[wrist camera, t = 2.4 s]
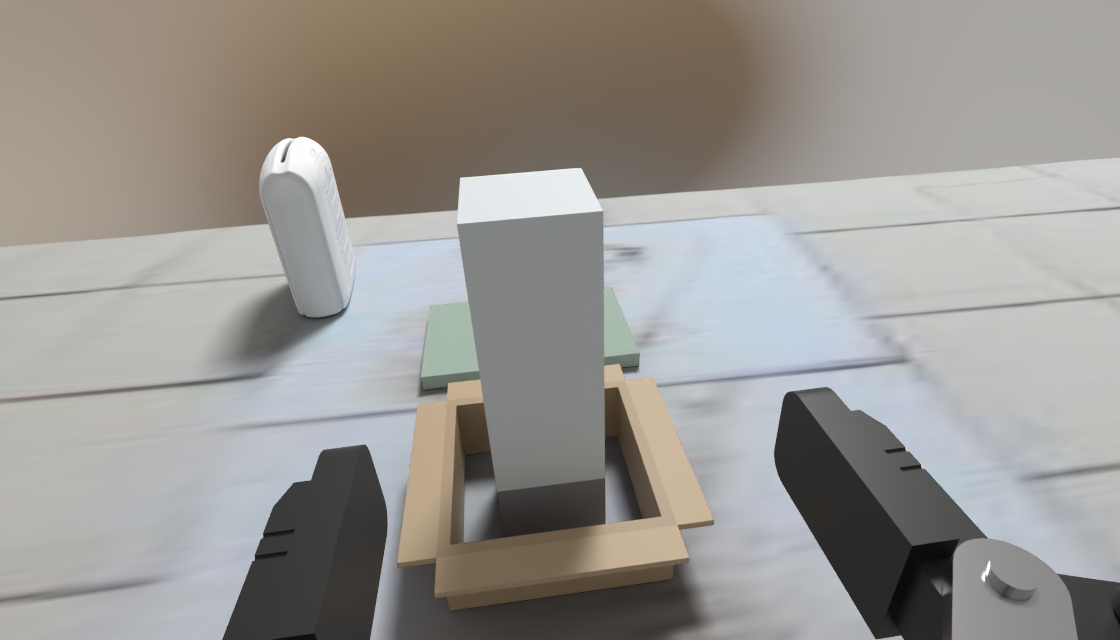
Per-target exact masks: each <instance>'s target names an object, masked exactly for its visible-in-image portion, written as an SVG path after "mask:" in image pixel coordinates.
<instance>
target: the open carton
mask: <svg viewBox="0 0 1120 640" xmlns="http://www.w3.org/2000/svg"><path fill="white" fill-rule="evenodd" d="M604 396H605V438H607V437H615V436H618V439H619V442H620V446H621V449H622V452H623V455H624V459H625V462H626V465H627V469H628V472H629V475H630V479H631V482H632V485H633V489H634V492H635V495H636V499H637V502H638V505H639V509H640V512H641V515H642V519H640V520H632V521H625V522H617V523H610V524H602V525H595V526H587V527H580V528H572V529H565V530H558V531H550V532H543V533H535V534H528V535H520V536H513V537H505V538H498V539H490V540H483V541H476V542H468V543H463V537H464V490H465V455H468V454H476V453H484V452H491V448H490V441H489V435H488V428H487V421H486V415H485V408H484V401H483V395H482V388H481V381H480V380H471V381H462V382H453V383H448V392H447V401H439V402H430V403H421V404H418V407H417V415H416V423H415V430H414V438H413V445H412V453H411V461H410V468H409V476H408V483H407V491H406V499H405V506H404V514H403V521H402V529H401V536H400V544H399V552H398V559H397V565H398V568H402V567H409V566H416V565H424V564H431V563H436V574H435V589H434V595H435V598H442V597H447V601H448V605H449V609H450V611H453V610H460V609H467V608H474V607H481V606H488V605H494V604H501V603H508V602H515V601H522V600H529V599H536V598H543V597H550V596H557V595H564V594H571V593H578V592H585V591H592V590H599V589H606V588H613V587H620V586H627V585H634V584H641V583H648V582H655V581H662V580H669V579H673V569H674V565H676V564H683V563H689V556H688V553H687V550H686V547H685V545H684V542H683V539H682V536H681V533H680V531H679V530H680V529H688V528H695V527H702V526H710V525H713V524H714V519H713V516H712V514H711V512H710V509H709V507H708V505H707V502H706V500H705V498H704V495H703V493H702V491H701V488H700V486H699V484H698V481H697V479H696V477H695V474H694V472H693V470H692V467H691V465H690V463H689V460H688V458H687V456H686V453H685V451H684V449H683V446H682V444H681V442H680V439H679V437H678V435H677V432H676V430H675V428H674V426H673V423H672V421H671V419H670V416H669V414H668V412H667V409H666V407H665V405H664V402H663V400H662V398H661V395H660V393H659V391H658V388H657V386H656V384H655V381H654V379H653V377H649V378H640V379H631V380H625V378H624V375H623V372H622V370H621V367H620V364H614V365H605V366H604Z"/></svg>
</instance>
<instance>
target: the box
mask: <svg viewBox="0 0 1120 640" xmlns="http://www.w3.org/2000/svg"><path fill="white" fill-rule="evenodd" d="M457 227H458V234H459V240H460V247H461V254H462V260H463V267H464V274H465V281H466V287H467V294H468V301H469V307H470V314H471V321H472V328H473V334H474V341H475V348H476V354H477V361H478V368H479V374H480V381H481V388H482V395H483V401H484V408H485V415H486V421H487V428H488V435H489V441H490V448H491V455H492V462H493V468H494V475H495V482H496V488H497V495H498V502H499V508H500V515H501V522H502V529H503V535H504V538H505V537H513V536H520V535H528V534H535V533H543V532H550V531H558V530H565V529H572V528H580V527H587V526H595V525H602V524H605V396H604V260H603V210H602V208H601V206H600V204H599V202H598V200H597V198H596V196H595V194H594V192H593V190H592V189H591V186H590V185H589V183H588V181H587V179H586V177H585V175H584V173H583V171H582V169H581V168H574V169H563V170H562V169H561V170H549V171H538V172H526V173H515V174H502V175H490V176H478V177H466V178H460V192H459V205H458V218H457Z"/></svg>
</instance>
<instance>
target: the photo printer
mask: <svg viewBox="0 0 1120 640" xmlns="http://www.w3.org/2000/svg"><path fill="white" fill-rule="evenodd" d="M259 192H260V198H261V202H262V204H263V208H264V211H265V214H266V217H267V220H268V223H269V226H270V229H271V232H272V235H273V239H274V242H275V245H276V248H277V251H278V254H279V257H280V260H281V263H282V266H283V269H284V272H285V275H286V278H287V281H288V284H289V287H290V290H291V293H292V296H293V299H294V302H295V305H296V307H297V309H298V311H299V313H300V314H305V315H306V316H307V317H325V316H329V315H333V314H336V313H338V312H340V311H341V309H343V308H346V306H347V304H348V302H349V300H350V296H351V292H352V288H353V282H354V277H355V269H356V262H355V256H354V252H353V248H352V244H351V240H350V236H349V232H348V229H347V225H346V221H345V217H344V214H343V209H342V206H341V202H340V198H339V194H338V190H337V186H336V182H335V178H334V174H333V170H332V166H331V162H330V160H329V157H328V155H327V153H326V152H325V150H324V149H323V148H322V147H321V146H320V145H319V144H318V143H316V142H315V141H313V140H311V139H309V138H305V137H298V138H297V139H290V138H288V139H285V140H282V141H281V142H279V143H278V144H277V145H276V146H275V147H274V148H273V149H272V150H271V151H270V153H269V154H268V156H267V158H266V160H265V162H264V164H263V167H262V171H261V174H260V179H259Z"/></svg>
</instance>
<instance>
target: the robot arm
mask: <svg viewBox="0 0 1120 640" xmlns="http://www.w3.org/2000/svg"><path fill="white" fill-rule="evenodd" d="M774 458H775V465H776V469H777V472H778V475H779V478H780V480H781V482H782V484H783V485H784V487H785V489H786V490H787V492H788V494H789V495H790V497H791V499H792V500H793V502H794V504H795V505H796V507H797V509H798V510H799V512H800V514H801V515H802V517H803V519H804V520H805V522H806V524H807V525H808V527H809V529H810V530H811V532H812V534H813V535H814V537H815V539H816V540H817V542H818V544H819V545H820V547H821V549H822V550H823V552H824V554H825V555H826V557H827V559H828V560H829V562H830V564H831V565H832V567H833V569H834V570H835V572H836V574H837V575H838V577H839V579H840V580H841V582H842V584H843V585H844V587H845V589H846V590H847V592H848V594H849V595H850V597H851V599H852V600H853V602H854V604H855V605H856V607H857V609H858V610H859V612H860V614H861V615H862V617H863V619H864V620H865V622H866V624H867V625H868V627H869V629H870V630H871V632H872V634H873V635H874V637H875V639H881V638H887V637H894V636H900V635H902V637H903V638H904V640H1120V583H1117V582H1110V581H1103V580H1096V579H1089V578H1082V577H1075V576H1068V575H1061V574H1056V573H1055V572H1054V570H1053V569H1051V568H1050V567H1049V566H1048V565H1047V564H1046V563H1044V562H1043V561H1042V560H1040V559H1039V558H1038V557H1036V556H1034V555H1033V554H1031V553H1029V552H1028V551H1026V550H1024V549H1022V548H1020V547H1017V546H1015V545H1012V544H1010V543H1007V542H1003V541H999V540H994V539H988V538H987V537H986V536H985V535H984V534H983V533H982V532H981V530H980V529H979V528H978V527H977V526H976V525H975V524H974V523H973V522H972V520H971V519H970V518H969V517H968V516H967V515H966V514H965V513H964V512H963V511H962V509H961V508H960V507H959V506H958V505H957V504H956V503H955V502H954V501H953V499H952V498H951V497H950V496H949V495H948V494H947V493H946V492H945V491H944V490H943V488H942V487H941V486H940V485H939V484H938V483H937V482H936V481H935V480H934V479H933V477H932V476H931V475H930V474H929V473H928V472H927V471H926V470H925V469H922V468H921V464H920V463H919V462H918V461H917V460H916V459H915V458H914V456H913V455H912V454H911V453H910V452H906V450H905V446H904V445H903V444H902V443H901V442H900V441H899V440H898V439H897V438H896V437H895V435H894V434H893V433H892V432H891V431H890V430H889V429H888V428H887V427H886V426H885V425H883V424H882V423H880V422H878V421H877V420H875V419H874V418H872V417H870V416H869V415H867V414H866V413H864V412H862V411H861V410H855V411H850V410H849V408H848V407H847V406H846V405H845V404H844V403H843V401H842V400H841V399H840V398H839V397H838V396H837V394H836V393H835V392H834V391H833V390H831V389H830V388H828V387H822V388H815V389H807V390H799V391H791V392H788V393H786V395H785V397H784V399H783V404H782V410H781V415H780V421H779V427H778V432H777V438H776V444H775V450H774ZM386 537H387V509H386V503H385V499H384V496H383V493H382V490H381V486H380V483H379V480H378V477H377V474H376V470H375V467H374V464H373V461H372V458H371V454H370V451H369V449H368V447H367V446H366V445H358V446H350V447H342V448H334V449H327V450H323V451H322V452H321V453H320V455H319V458H318V461H317V464H316V467H315V470H314V473H313V476H312V479H311V481H303V482H296V483H293V484H292V486H291V487H290V488H289V489H288V490H287V491H286V493H285V494H284V495H283V496H282V497H281V499H280V500H279V501H278V502H277V503H276V504H275V506H274V507H273V509H272V512H271V514H270V517H269V519H268V522H267V525H266V527H265V530H264V532H263V539H261V540H260V543H259V545H258V548H257V551H256V553H255V561H252V564H251V566H250V569H249V572H248V574H247V577H246V579H245V582H244V585H243V587H242V590H241V592H240V595H239V598H238V600H237V603H236V605H235V608H234V611H233V613H232V616H231V618H230V621H229V624H228V626H227V629H226V631H225V634H224V637H223V639H222V640H370V636H371V630H372V624H373V617H374V611H375V605H376V599H377V593H378V586H379V580H380V574H381V568H382V562H383V556H384V549H385V543H386Z"/></svg>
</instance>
